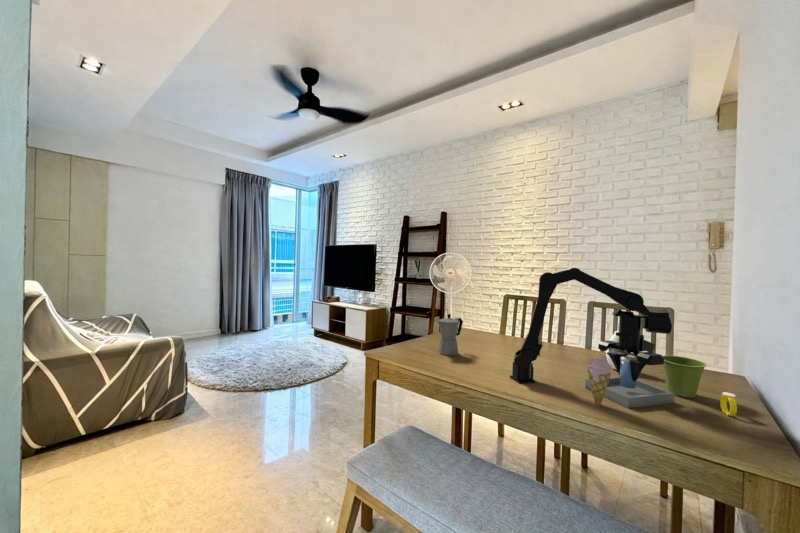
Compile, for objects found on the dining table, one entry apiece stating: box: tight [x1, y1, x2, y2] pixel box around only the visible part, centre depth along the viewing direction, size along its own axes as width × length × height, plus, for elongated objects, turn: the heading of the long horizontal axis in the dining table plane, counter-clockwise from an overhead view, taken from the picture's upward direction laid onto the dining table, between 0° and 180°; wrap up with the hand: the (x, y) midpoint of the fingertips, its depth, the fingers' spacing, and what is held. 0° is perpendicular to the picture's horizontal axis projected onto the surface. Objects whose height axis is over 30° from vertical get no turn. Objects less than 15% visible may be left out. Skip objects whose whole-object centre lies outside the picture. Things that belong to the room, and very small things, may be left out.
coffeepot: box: [437, 313, 464, 356], centre depth 153 cm, size 15×9×18 cm, turn 126°
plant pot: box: [662, 354, 708, 399], centre depth 110 cm, size 12×12×11 cm
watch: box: [719, 391, 738, 417], centre depth 96 cm, size 6×3×6 cm, turn 157°
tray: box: [584, 375, 676, 409], centre depth 108 cm, size 18×16×3 cm
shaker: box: [619, 355, 636, 388], centre depth 108 cm, size 4×4×9 cm
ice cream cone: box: [586, 355, 612, 407], centre depth 100 cm, size 7×6×15 cm
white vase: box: [605, 324, 630, 371], centre depth 134 cm, size 8×8×18 cm
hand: (627, 378), depth 108 cm, fingers closed on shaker, 4 cm apart
